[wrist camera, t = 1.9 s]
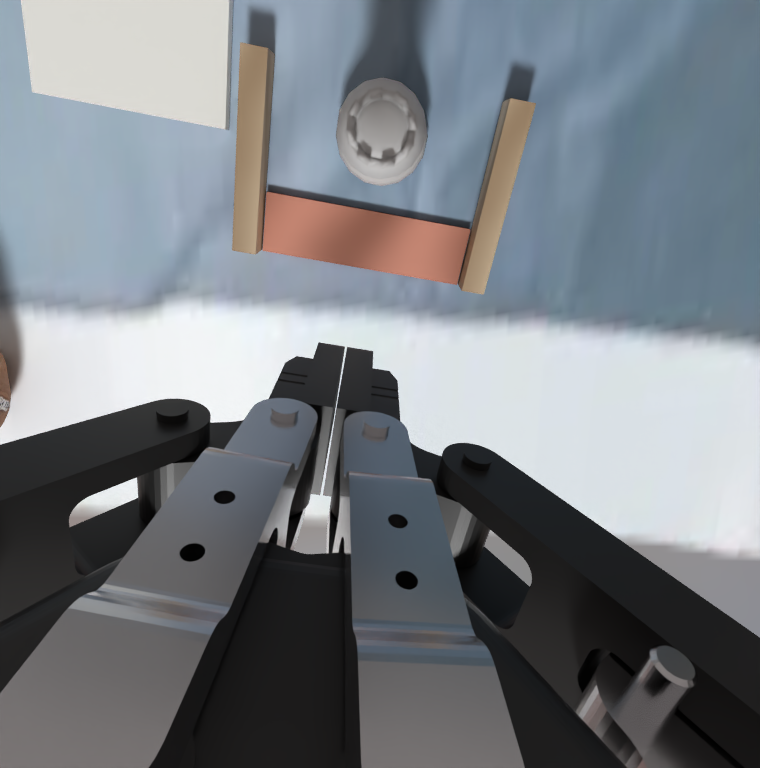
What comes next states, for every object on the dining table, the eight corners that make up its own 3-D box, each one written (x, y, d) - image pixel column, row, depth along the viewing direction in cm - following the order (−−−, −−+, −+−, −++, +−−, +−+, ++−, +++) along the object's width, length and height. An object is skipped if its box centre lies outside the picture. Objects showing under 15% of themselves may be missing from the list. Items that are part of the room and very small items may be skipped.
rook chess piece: (335, 83, 23) (313, 50, 16) (429, 84, 23) (451, 52, 16) (338, 184, 25) (319, 197, 17) (424, 186, 25) (441, 199, 17)
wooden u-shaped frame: (527, 106, 23) (535, 103, 22) (478, 287, 27) (483, 294, 26) (249, 49, 22) (240, 42, 21) (240, 245, 26) (232, 250, 25)
